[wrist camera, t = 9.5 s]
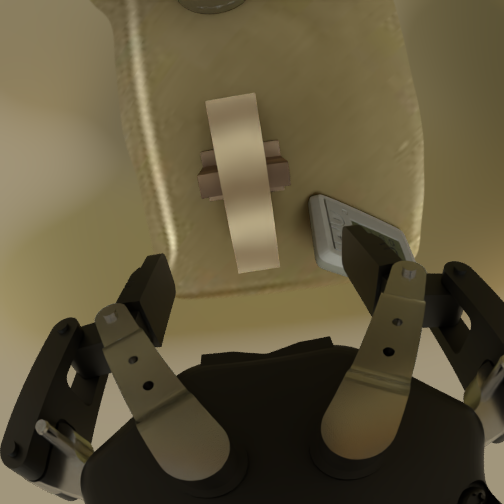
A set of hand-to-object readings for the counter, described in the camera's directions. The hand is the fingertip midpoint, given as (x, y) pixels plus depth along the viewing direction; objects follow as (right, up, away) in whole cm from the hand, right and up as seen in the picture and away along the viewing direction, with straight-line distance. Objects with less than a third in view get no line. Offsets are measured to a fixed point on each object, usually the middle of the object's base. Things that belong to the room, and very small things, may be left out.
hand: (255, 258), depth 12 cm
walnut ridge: (-1, +10, +19) cm, 22 cm away
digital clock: (+14, +4, +24) cm, 28 cm away
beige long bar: (-1, +7, +14) cm, 16 cm away
